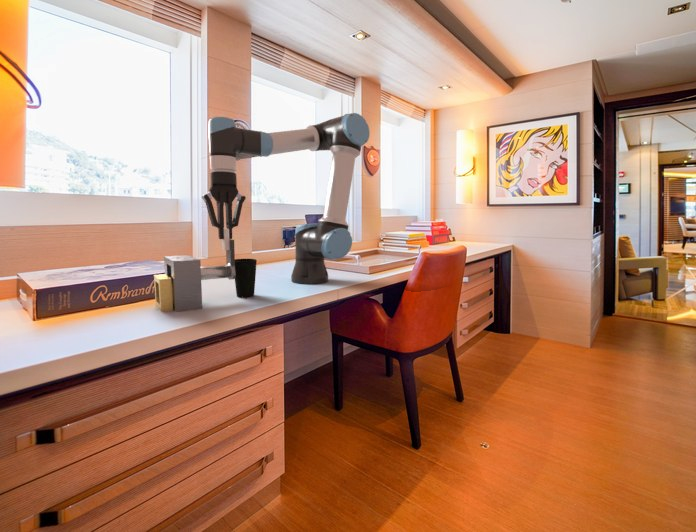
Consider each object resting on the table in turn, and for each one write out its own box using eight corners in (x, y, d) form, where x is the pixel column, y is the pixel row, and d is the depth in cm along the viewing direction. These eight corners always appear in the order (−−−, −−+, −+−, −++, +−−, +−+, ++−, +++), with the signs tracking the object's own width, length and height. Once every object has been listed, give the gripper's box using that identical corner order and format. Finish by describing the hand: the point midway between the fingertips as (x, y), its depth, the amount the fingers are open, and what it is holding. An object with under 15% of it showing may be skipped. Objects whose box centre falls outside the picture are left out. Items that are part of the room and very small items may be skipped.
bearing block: (190, 299, 118) (188, 255, 117) (202, 308, 107) (200, 259, 105) (166, 301, 114) (163, 256, 112) (176, 311, 103) (173, 261, 101)
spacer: (166, 303, 112) (165, 274, 111) (173, 310, 105) (171, 278, 104) (155, 305, 110) (153, 275, 109) (161, 311, 103) (159, 279, 102)
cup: (250, 299, 120) (250, 261, 118) (229, 297, 121) (227, 260, 120) (261, 294, 127) (260, 259, 126) (240, 292, 129) (239, 258, 127)
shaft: (230, 278, 121) (229, 238, 119) (235, 280, 116) (234, 239, 115) (176, 282, 111) (173, 240, 110) (179, 285, 107) (177, 241, 105)
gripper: (240, 174, 120) (242, 248, 123) (197, 171, 112) (200, 249, 115) (248, 172, 114) (250, 249, 117) (204, 169, 106) (207, 251, 109)
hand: (225, 249), depth 116 cm, fingers closed
